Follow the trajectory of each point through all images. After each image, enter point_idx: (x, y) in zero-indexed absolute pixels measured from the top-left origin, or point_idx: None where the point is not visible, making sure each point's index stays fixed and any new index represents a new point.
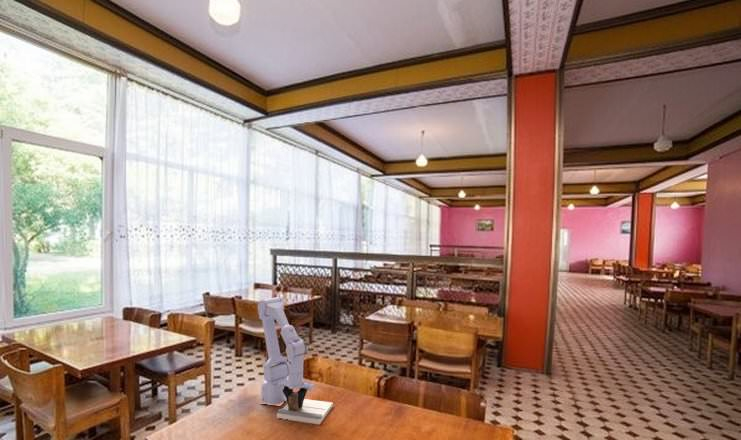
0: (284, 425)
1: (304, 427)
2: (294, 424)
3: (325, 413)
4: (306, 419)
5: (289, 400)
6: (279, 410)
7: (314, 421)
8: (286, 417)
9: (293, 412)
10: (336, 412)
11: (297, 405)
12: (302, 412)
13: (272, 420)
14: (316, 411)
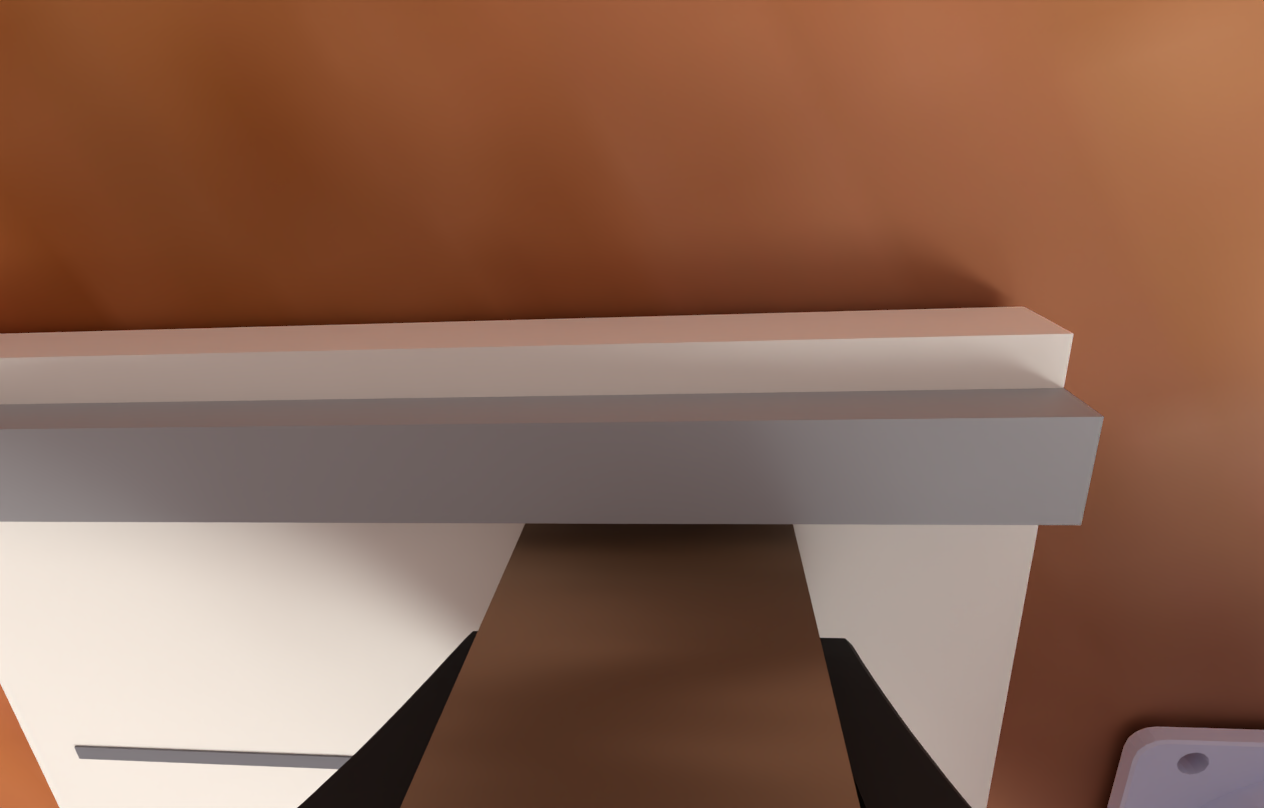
0: (668, 75)
1: (167, 150)
2: (456, 197)
3: (3, 646)
4: (185, 344)
5: (804, 769)
6: (1049, 436)
7: (9, 344)
8: (745, 329)
9: (562, 438)
10: (15, 754)
11: (476, 645)
12: (328, 496)
13: (1103, 200)
14: (178, 661)
